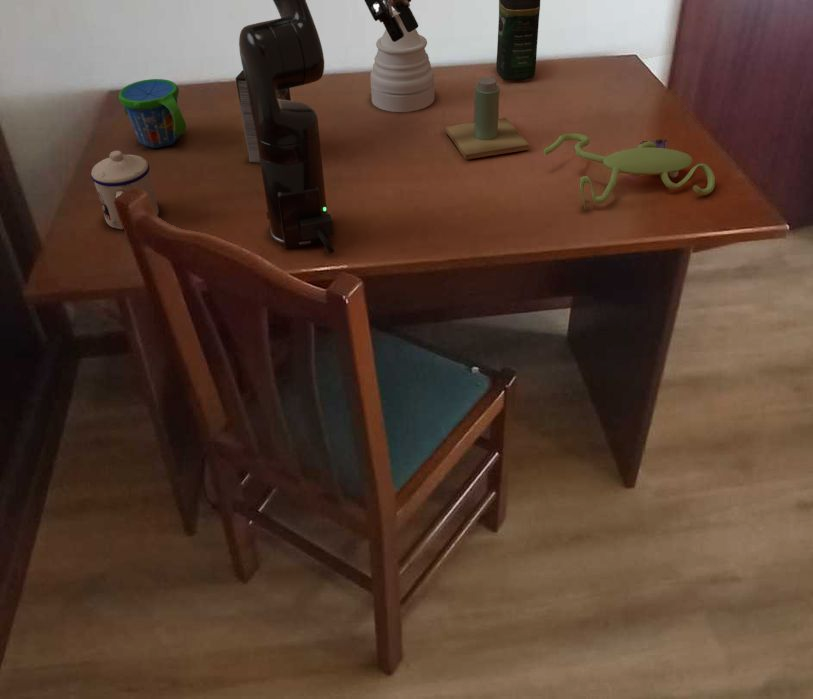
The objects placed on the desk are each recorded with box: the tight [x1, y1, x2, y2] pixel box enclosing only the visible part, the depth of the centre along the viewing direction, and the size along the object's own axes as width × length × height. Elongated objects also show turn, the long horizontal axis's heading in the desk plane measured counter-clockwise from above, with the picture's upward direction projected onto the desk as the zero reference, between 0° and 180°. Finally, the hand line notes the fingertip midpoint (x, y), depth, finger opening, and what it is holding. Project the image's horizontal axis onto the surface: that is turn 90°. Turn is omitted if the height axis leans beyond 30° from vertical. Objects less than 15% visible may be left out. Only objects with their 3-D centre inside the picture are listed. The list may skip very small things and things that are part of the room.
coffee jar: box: [495, 0, 541, 83], centre depth 179 cm, size 10×8×19 cm
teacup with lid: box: [90, 150, 159, 231], centre depth 139 cm, size 12×9×12 cm
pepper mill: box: [473, 76, 500, 140], centre depth 157 cm, size 4×4×10 cm
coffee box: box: [235, 69, 292, 164], centre depth 155 cm, size 9×6×16 cm
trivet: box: [445, 117, 530, 160], centre depth 160 cm, size 12×12×1 cm
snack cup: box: [118, 78, 187, 149], centre depth 163 cm, size 16×10×10 cm
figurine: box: [542, 133, 716, 211], centre depth 147 cm, size 18×27×6 cm
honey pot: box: [369, 9, 435, 113], centre depth 171 cm, size 13×13×18 cm
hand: (406, 34), depth 153 cm, fingers open, 8 cm apart
